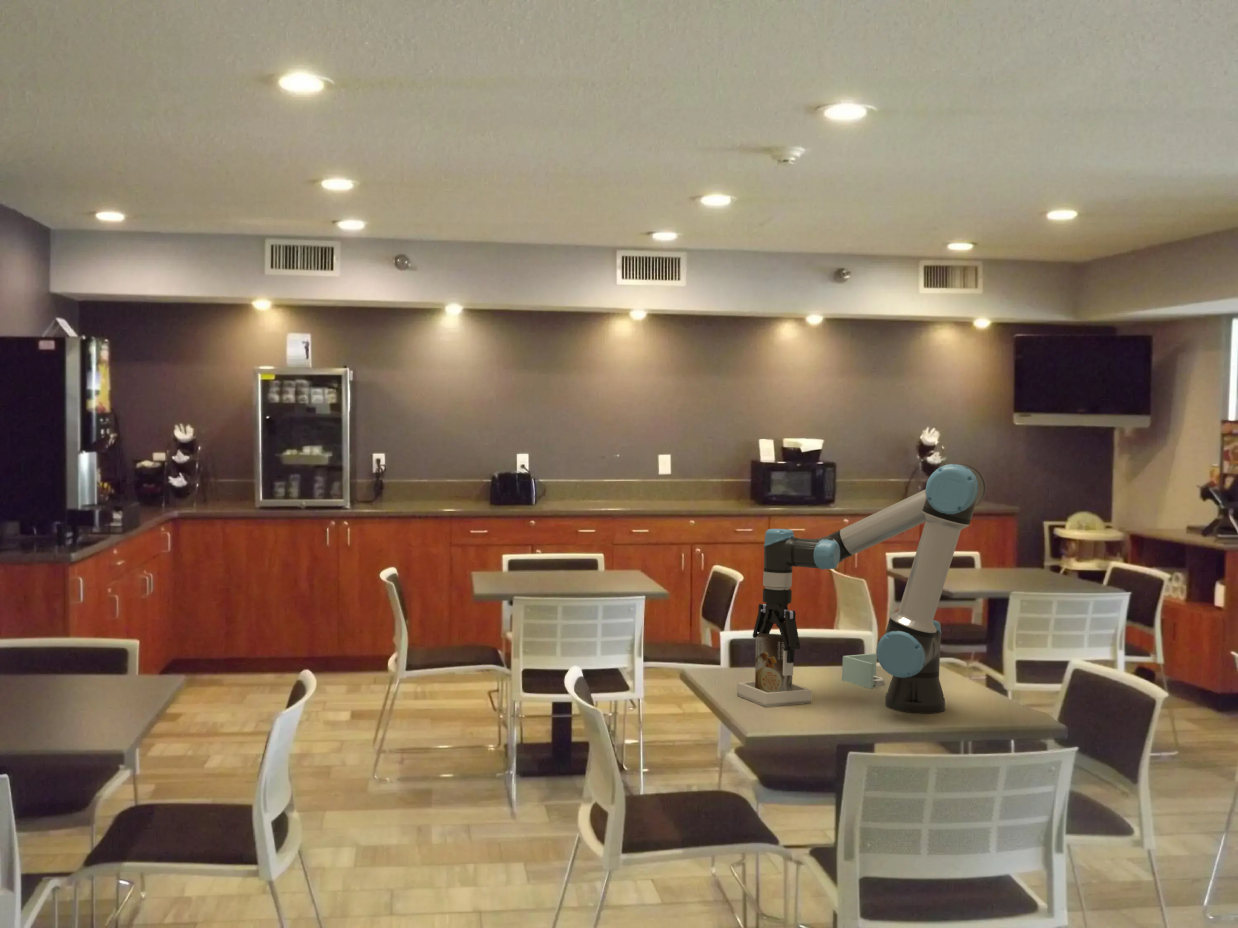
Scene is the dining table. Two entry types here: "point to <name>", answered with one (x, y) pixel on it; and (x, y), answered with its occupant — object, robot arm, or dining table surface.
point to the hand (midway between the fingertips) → (774, 670)
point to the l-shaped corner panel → (861, 670)
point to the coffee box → (770, 664)
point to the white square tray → (774, 695)
